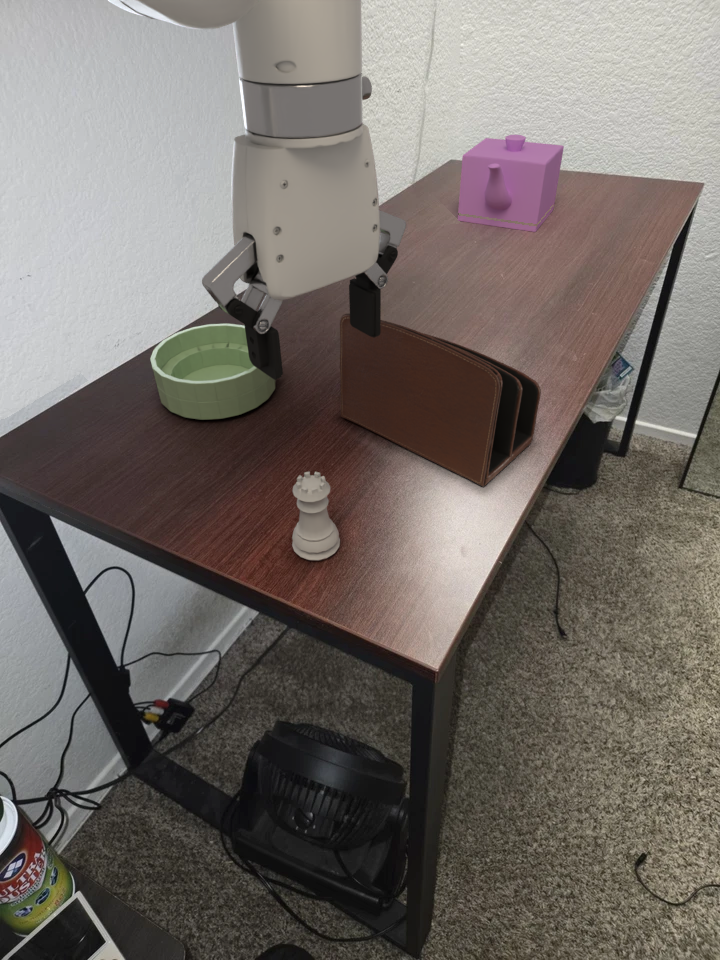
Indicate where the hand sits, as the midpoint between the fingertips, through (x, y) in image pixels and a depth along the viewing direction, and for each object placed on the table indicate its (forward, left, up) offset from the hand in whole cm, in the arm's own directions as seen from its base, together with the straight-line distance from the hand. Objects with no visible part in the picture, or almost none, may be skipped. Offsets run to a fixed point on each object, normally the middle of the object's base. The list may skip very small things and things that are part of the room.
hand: (318, 350), depth 52 cm
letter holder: (+16, +9, -18) cm, 26 cm away
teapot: (+59, +67, -18) cm, 91 cm away
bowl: (-5, +27, -18) cm, 33 cm away
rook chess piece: (-2, -3, -18) cm, 19 cm away
